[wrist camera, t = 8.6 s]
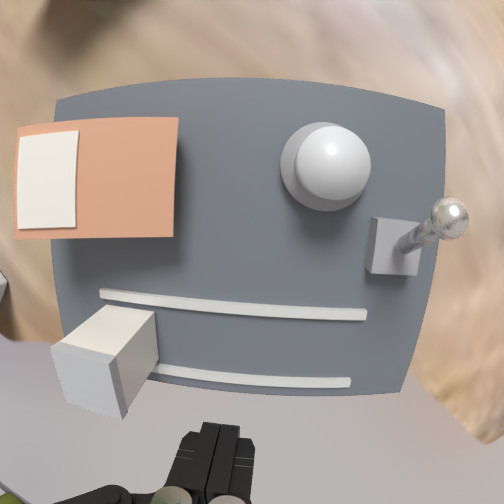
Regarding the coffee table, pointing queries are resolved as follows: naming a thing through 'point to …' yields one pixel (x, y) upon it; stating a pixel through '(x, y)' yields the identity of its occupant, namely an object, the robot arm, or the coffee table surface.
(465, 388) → the coffee table surface
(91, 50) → the coffee table surface
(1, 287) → the tea box
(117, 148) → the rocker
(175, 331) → the control board
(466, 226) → the toggle lever
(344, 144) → the push button
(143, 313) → the slider knob
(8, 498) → the flower pot
